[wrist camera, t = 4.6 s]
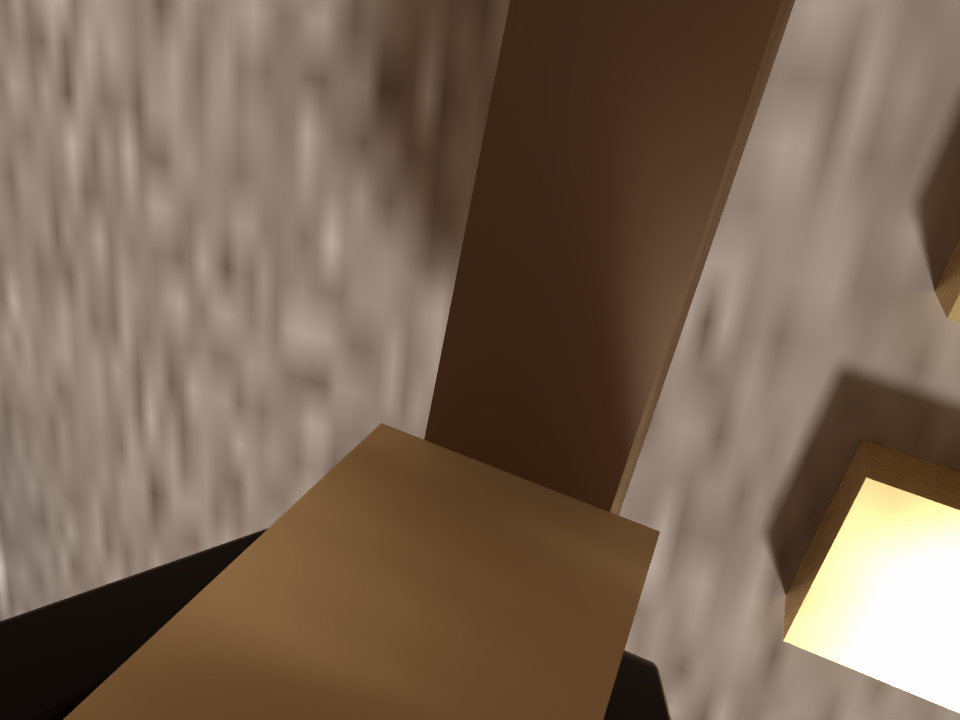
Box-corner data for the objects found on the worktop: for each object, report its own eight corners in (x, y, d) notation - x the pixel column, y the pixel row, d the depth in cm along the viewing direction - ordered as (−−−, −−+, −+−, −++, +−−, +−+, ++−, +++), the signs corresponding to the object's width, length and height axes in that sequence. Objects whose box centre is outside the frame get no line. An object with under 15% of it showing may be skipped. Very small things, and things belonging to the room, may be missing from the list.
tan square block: (1086, 508, 17) (1118, 565, 15) (982, 663, 19) (999, 728, 17) (861, 432, 18) (866, 477, 16) (786, 586, 20) (783, 641, 18)
